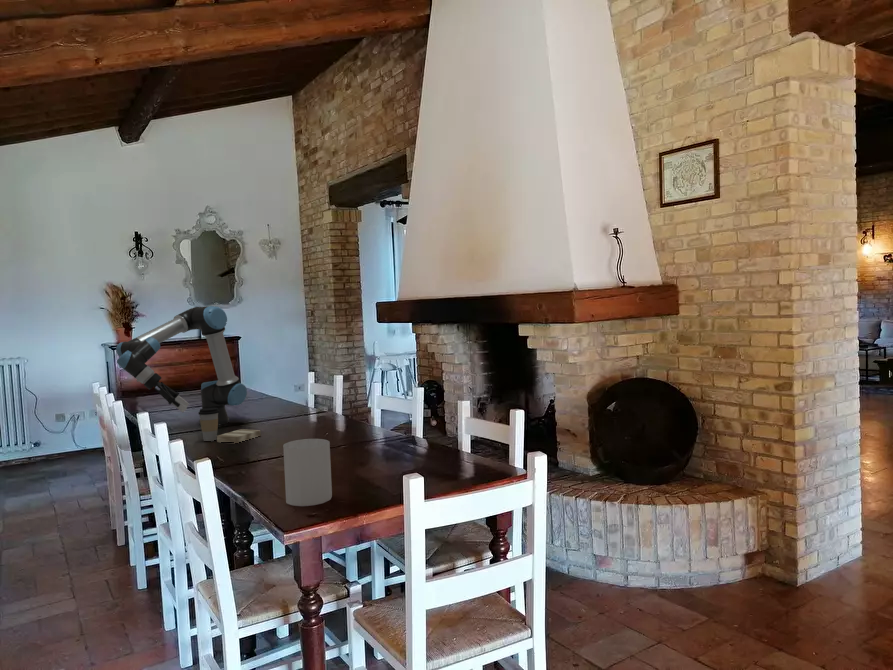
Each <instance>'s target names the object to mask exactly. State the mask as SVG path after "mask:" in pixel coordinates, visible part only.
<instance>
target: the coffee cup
mask: <svg viewBox="0 0 893 670" xmlns="http://www.w3.org/2000/svg"><path fill="white" fill-rule="evenodd" d="M218 413H219V410H218V408H215V407H212V408H203V409H202V408H200V409H199V411H198V415H199V420H200V423H201V425H200V430H201V432H202V438H203V442H204V441H211V442H215V441H214V440H216V441H217V436H218V429H219V428H218V426H219V425H218ZM200 423H199V424H200Z"/></svg>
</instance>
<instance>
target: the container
mask: <svg viewBox="0 0 893 670" xmlns="http://www.w3.org/2000/svg"><path fill="white" fill-rule="evenodd" d="M330 445H331V443H330V440H327V439H323V438H305V439H297V440H291V441H288V442H286V443H284V444H283V445H282V446H283V447H282V448H283V465H284V466H283V467H284V469H283V470H284V485H285V486H284V487H285V502H286V504H287V505H290V506H293V507H294V506H295V507H309V506H316V505H321V504H324V503H327V502H328V501H330V500H332V497H333V487H332V486H333V484H332V468H331V467H332V465H331V463H332V462H331V448H330V447H331V446H330Z"/></svg>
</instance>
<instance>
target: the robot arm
mask: <svg viewBox="0 0 893 670" xmlns="http://www.w3.org/2000/svg"><path fill="white" fill-rule="evenodd" d="M227 322H228V317H227V314H226V312H225V310H224V309H223V308H221V307H219V306H214V305H209V306H195V307H192V308H188V309H187V310H184V311H183V312H181V313H179V314H177V315H175V316H174V317H173V319H171V320H169V321H168V322H167V321H166V322H165V323H163V324H160V325H159V326H157V327H155V328H153V329H150V330H149V331H147V332H144V333H143V334H141V335H139V336H137V337H135V338H133V339H130V340H128V341H121V342H119V343H118V344H117V345H116V348H115V351H116V354H117V356H118V358H117V360H116V363H117V365H118V366H119V367H120V368H121V369H122V370H124V371H126V372H127V373H128V374H129V375H131V376H132V377H133V378H134V379H135V380H136V382H137V383H138V382H139V383H140V384H143V386H144V387H146V389H148V390H149V391H150V390H152V389H154V390H155V391H156V392H157V393H158V394H159V395H160V396H161V397H163V398H164V400H165V401H167V403H168V405H171V404H172V405H173V406H174V407H175V408H176V409H177V410H179V411H180V412H181V413H182V414H183V413H184V412H186V410H188V406H190V403H189V402H188V401H186V399H184V398H183V397H181V396H180V392H177V391H175V390H173V389H172V388H171V387H169V386H168V385H167V384H165V383H164V382H163V381H161V380H162V377H161V375H160V374H158V373H157V372H155V370H154V369H153V368H151V367H150V366H149V365H147V364H146V363H147V362H148V361H150V359H151V358H152V357H153V356H155V354H157V353H158V352H159V350H160V349H161V343H163V342H165V341H167V340H169V339H171V338H172V337H175V336H177V335H178V334H181V333H183V334H185V333H187V332H189V331H194V330H200V332H201V335H202V336H203V337H205V339H206V342H207V344H208V345H207V346H208V348H209V349H208V350H209V353H210V355H211V359H212V363H213V367H214V369H215V370H214V371H215V373H216V378H217V380H213V381H205V382H202V383H201V385H200V386H201V387H200V397H201V409H203V408H212V407H215V408H218V410H219V413H218V426H220V425H219V424H221V425H225V424H224V423H226V424H228V423H227V422H229V423H230V417H229V416H228V412H227V410H226V406H233V407H234V406H240V405H242V403H244V402H245V400H246V398H247V395H248V390H247V386H246V385H245V384H243V383H241V382H240V378H239V377H238V376H237V375H236V374H235V372H234V368H233V364H232V361H231V360H232V359H231V357H230V353H229V350H228V345H227V342H226V339H225V335H224V333H225V331H226V328H225V327H226V325H227ZM199 425H200V426H201V423H200V419H199Z"/></svg>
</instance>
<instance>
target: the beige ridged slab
mask: <svg viewBox="0 0 893 670" xmlns="http://www.w3.org/2000/svg"><path fill="white" fill-rule="evenodd" d="M261 435H262V433H261V430H260V429H246V428H245V429H244V428H241V429H237V430H233V431H230V432H226V433H225V432H224V433H222V434H217V440H216V442H217V443H221V442H234V443H233V444H235V443H238V444H240V443H239V442H241V443H243V442H242V441H245V440H248V441H250V440H249V439H251V440H253V439H252V438H254V439H256V438H255V437H258V436H261ZM258 438H259V437H258ZM245 442H246V441H245Z"/></svg>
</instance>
